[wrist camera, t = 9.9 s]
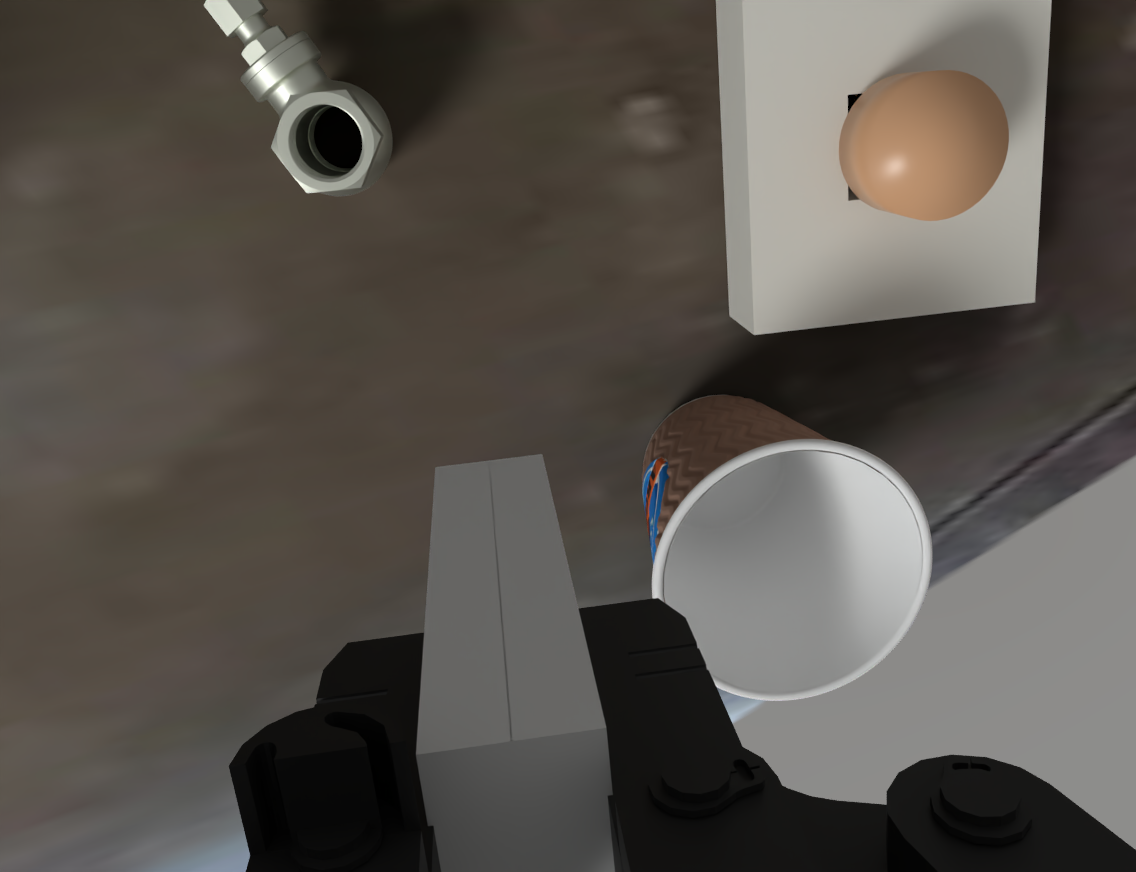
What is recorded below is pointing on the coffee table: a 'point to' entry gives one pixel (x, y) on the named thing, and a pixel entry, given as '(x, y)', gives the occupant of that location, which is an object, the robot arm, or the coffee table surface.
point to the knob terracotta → (924, 144)
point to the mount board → (813, 173)
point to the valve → (304, 100)
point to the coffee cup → (781, 547)
